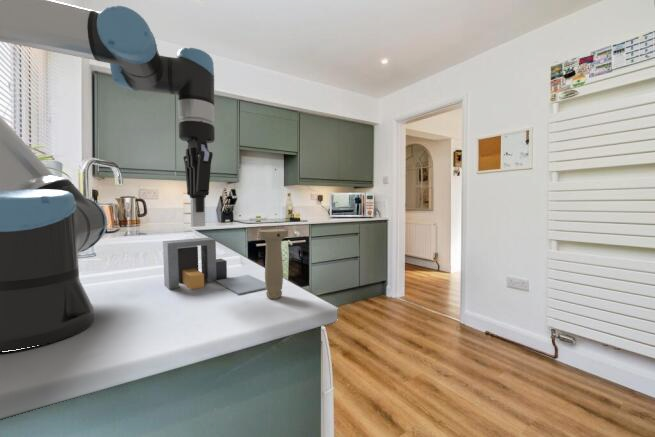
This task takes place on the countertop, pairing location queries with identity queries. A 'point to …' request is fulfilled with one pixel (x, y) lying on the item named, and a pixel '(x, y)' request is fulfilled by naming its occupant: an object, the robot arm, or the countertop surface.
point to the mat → (243, 284)
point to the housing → (210, 264)
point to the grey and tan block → (189, 267)
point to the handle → (273, 261)
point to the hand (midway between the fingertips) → (198, 226)
